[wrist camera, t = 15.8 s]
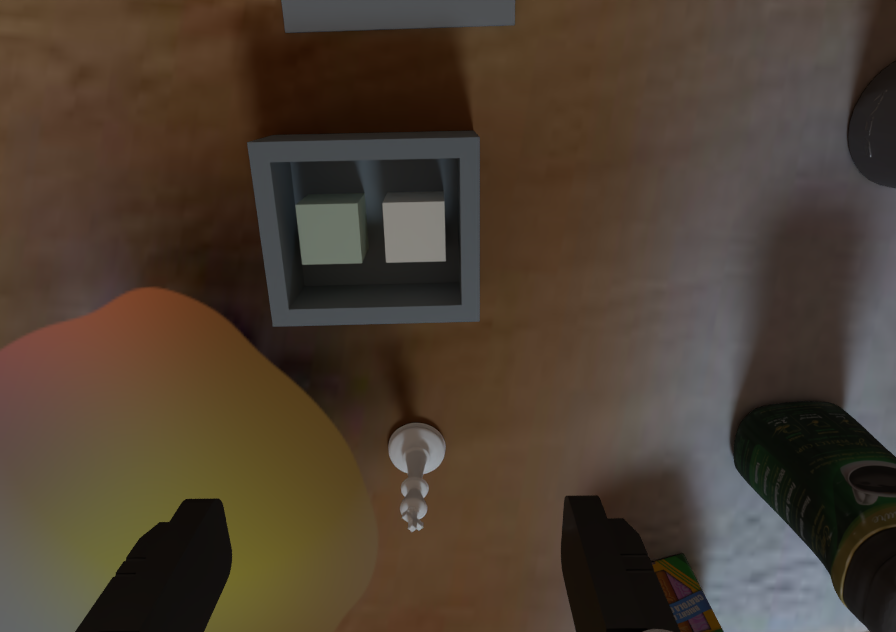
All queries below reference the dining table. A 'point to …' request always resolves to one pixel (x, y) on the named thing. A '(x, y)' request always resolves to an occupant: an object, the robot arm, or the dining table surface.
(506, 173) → the dining table surface
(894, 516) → the coffee jar
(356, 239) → the sage block
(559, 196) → the dining table surface
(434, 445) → the chess piece
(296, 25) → the lid
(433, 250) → the cream block
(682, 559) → the chalk box
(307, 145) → the box
